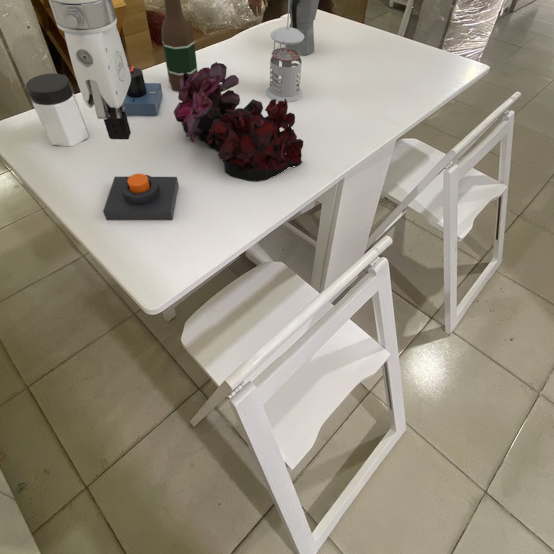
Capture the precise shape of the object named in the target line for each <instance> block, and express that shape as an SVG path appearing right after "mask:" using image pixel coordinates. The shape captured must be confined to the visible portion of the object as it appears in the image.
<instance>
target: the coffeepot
mask: <svg viewBox="0 0 554 554" xmlns="http://www.w3.org/2000/svg"><path fill="white" fill-rule="evenodd" d="M319 4H320V0H290V3H289V18H290V19H289V20H290V23H289V25H288V27H291V28H295V29H297V30H299V31H300V32H301V33H302V34H304V39H303V41H302V42H300V43H298V44H293V45H287V48H291V49H295V50H297V51H299V52H300V54H301V56H303V57H304V56H309V55H312V54H313V53H314V52H315V33H314V21H315V20H316V16H317V11H318V7H319ZM301 56H300V57H301Z"/></svg>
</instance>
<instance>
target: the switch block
mask: <svg viewBox="0 0 554 554" xmlns="http://www.w3.org/2000/svg"><path fill="white" fill-rule="evenodd" d="M145 175H146V176H147V177H148V181H149V184H150V188H149V189H148V190H147V191H145V192H142V193H133V192H132V191H131V190H130V188H129V185H128V178H129V177H130V176H113V177H114V178H113V181H112V183H111V186H110V190H109V193H108V196H107V199H106V202H105V205H104V207H103V210H102V213H103V215H104V217H105V219H106V221H173V220H174V214H175V209H176V202H177V199H178V191H179V181H178V180H179V179H178V176H151V175H149V174H145Z"/></svg>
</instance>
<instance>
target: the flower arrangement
mask: <svg viewBox="0 0 554 554" xmlns="http://www.w3.org/2000/svg"><path fill="white" fill-rule="evenodd" d="M227 69H228V67H227V65H225V64H224V63H220V62H218V61H215V62H214V63H212V64H211V65H210V67H209V66H207V67H202V68H201V69H199V70H197V71H198V72H197V73H196V74H195V76H194V75H189V74H188V73H186V72H185V73H183V77H182V78H181V80H180V85H181V90H180V92H179V91H178V96H177V97H178V100H179V101H180V102H178V103H177V105H176V107H175V108H174V110H173V115H174V118H175V120H176V121H177V122H178V123H181V125H182V128H183V131H184V132H185V133H186V137H187V138H188V139H189V141H191V142H192V143H195V141H196V138H198V140H199V141H200V142H201V143H203V144H206V146H207V147H208V149H211V150H215V151H216V152H218V153H217V155H218V158H219V159H220V160H222V162H223V163H222V164H223V167H224V173H225V174H227V175H228V176H230V177H231V178H235V179H238V180H243V181H247V182H262V181H268V180H270V179H272V178H274V177H276V175H277V174H279V173H280V174H282V173H283V172H285V171H286V170H288V169H289V168H288V167H292V168H294V167H293V166H298V165H299V166H300V165H302V164H303V161H302V156H303V155H302V150H303V147H304V140H302V138H298V135H297V134H296V132H295V129H292V127H294V124H296V116H295V113H293V112H288V109H289V108H288V107H289V105H288V102H287V100H286V99H284V101H276V99H274V100H272V99H270V100H269V103H268V104H267V105H266V107H265V109H264V106H263V103H262V102H261V101H260V100H256V99H254V98H253V99H251V100H250V101H249V102H248V103H247V104H246V106H245V107H243V108H242V107H238V106H239V105H240V103H241V97H240V94H238V93H236V92H235V90H233V89H232V88H234V87H236V86H238V85H239V84H240V80H239V77H238V76H236V75H235V74H231V75H229V76H227V71H228V70H227ZM222 92H223V93H222ZM263 110H264V111H265V112H266V113H267V116H265V117H264V115H263V114H262V113H263ZM281 129H282V130H281ZM301 163H302V164H301ZM299 166H298V167H299ZM287 168H288V169H287ZM284 170H285V171H284ZM281 172H282V173H281ZM280 174H279V175H280ZM273 176H274V177H273ZM277 176H278V175H277ZM271 177H272V178H271ZM269 178H270V179H269ZM267 179H268V180H267Z"/></svg>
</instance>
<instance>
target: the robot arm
mask: <svg viewBox="0 0 554 554" xmlns="http://www.w3.org/2000/svg"><path fill="white" fill-rule="evenodd" d="M48 4H49V5H50V9H51V12H52V14H53V17H54V21H55V23H56V26H57V28H58V29H59V30H61V31H62V32H63V35H64V38H65V39H64V40H65V42H66V47H67V51H68V54H69V58H70V61H71V65H72V69H73V72H74V73H73V74H74V76H75V79H76V82H77V86H78V88H79V91H80V94H81V96H82V99H83V101H84V103H85V105H86V106H87V107H88V108H93V107H94V110H95V114H96V117H97V120H103V123H104V125H105V128H106V132H107V134H108V138H109V139H110V140H124V141H125V140H129V139H130V137H131V133H132V131H131V128H130V123H129V120H128V115H126V112H122V111H124V109H125V107H124V102H123V101H124V99H125V96H126V94H127V91H128V89H129V86H130V83H131V75H130V71H129V68H130V67H129V64H128V60H127V56H126V52H125V50H124V46H123V42H122V39H121V35H120V33H119V30H118V27H117V24H118V19H117V15H116V14H117V13H116V10H115V6H114V1H113V0H48Z"/></svg>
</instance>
